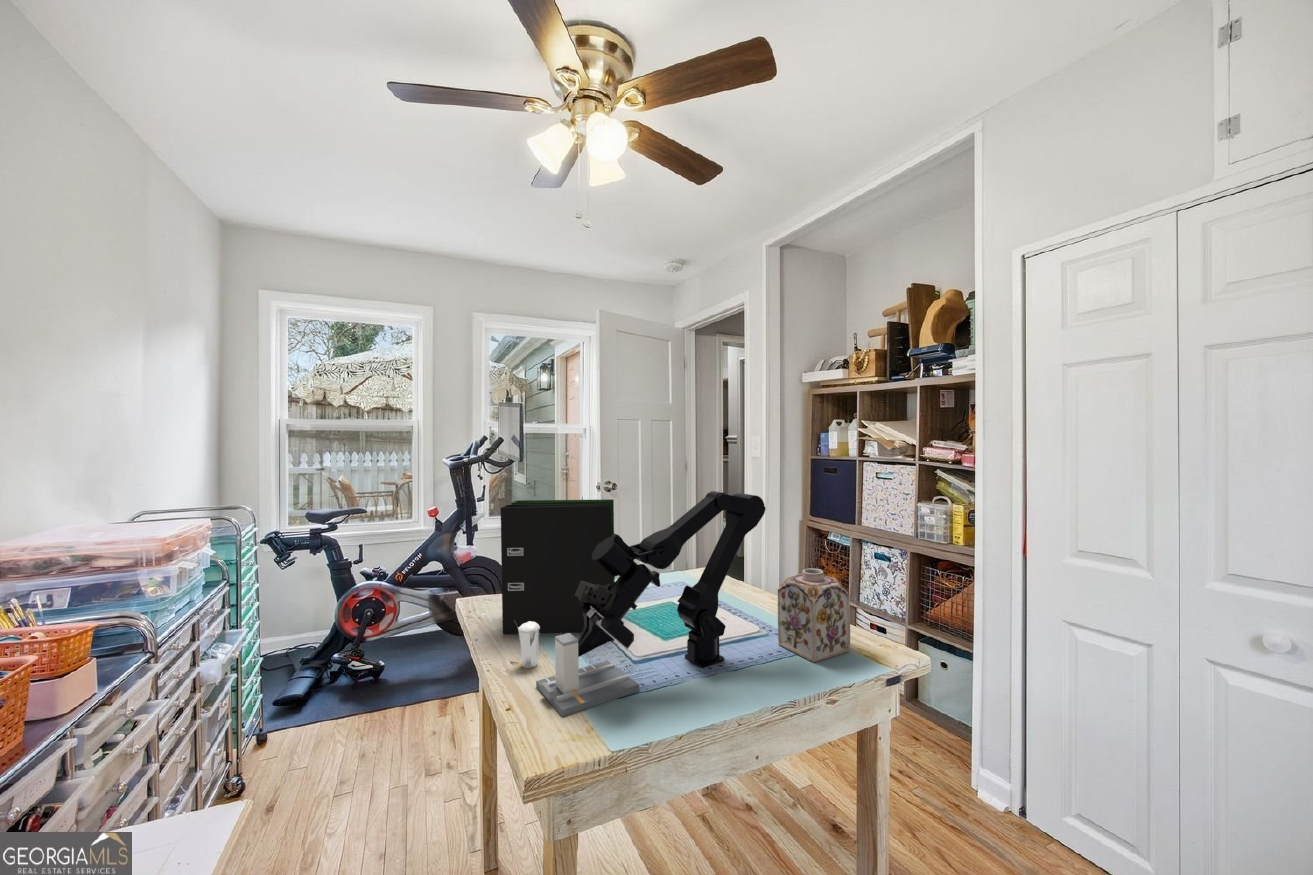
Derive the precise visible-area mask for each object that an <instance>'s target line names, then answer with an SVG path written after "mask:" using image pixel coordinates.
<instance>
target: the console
mask: <svg viewBox="0 0 1313 875" xmlns="http://www.w3.org/2000/svg"><path fill="white" fill-rule="evenodd" d="M535 682H536V683H535V686H536V689H537V691H539V692H540V694H542V695H543V696H544V698H545V699H546V700H547V702H549V703H550V705H552V707H553V708H554V709H555V710H556V711H557V712H558V713H559V715H560V717H566V716H568V715H572V714H574V713H579V712H581V711H584V710H586V709H590V708H592V707H596V706H597V705H601V704H603V703H607V702H609V701H614V700H616V699H618V698H621V697H624V696H628V695H630V694H633V693H636V692H639V691H640V684H639V683H638V682H637V681H635V680H634V679H633V678H631V677H630V675H628V674H627V673H625V672H624V671H622V670H621V669H619V667H617V666H615V664H614V663H612V662H610V661H609V660H605V661H600V662H597V663H594V664H591V665H587V666H584V667H580V668H579V690H573V691H572V692H569V693H566V694H563V693H562V692H561V691H560V690H559V689H558V688H557V687H556V674H554V675H553V676H549V677H545V678H542V679H538V680H536V681H535Z"/></svg>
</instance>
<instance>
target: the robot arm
mask: <svg viewBox="0 0 1313 875" xmlns="http://www.w3.org/2000/svg"><path fill="white" fill-rule="evenodd" d="M722 511H725V512H724V513H725V526H724V528H723V531H722V532H721V534H720V536H719V538H718V541H716V542H717V543H716V545H715V547H714V549H713V551H712V553H711V555H710V557H709V560H708V561H707V564H706V566H705V568H704V569H703V572H702V573H701V575H700V578H699V580H698V582H696V583H695V584H693V586H692V587H691V586H689V585H685V586H684V588H683V591H682V594H681V596H680V597H679V599H678V600H677V603H678V605H677V608H676V609H677V614H678V617H679V619H680V620H681V621H682V622H683V624H684V627H685V628H688V629H689V630H690V631H688V639H686V640H687V642H686V645H687V646H686V647H687V648H686V651H687V653H685V654H684V658H685V659H686V660H689V661H690V662H691V663H694V664H695V665H697V666H699V667H700V668H705V667H708V666H711V665H715V664H717V663H720V662H723V661H725V656H723V655H721V654H720V637H722V636H724V635H725V634H724V633H725V630H726V624H725V623H724V622H722V621H721V619H719V618H718V617H717V614H718V610H719V592H720V590H721V588H722V586H723V583H724V582H725V579H726V577H727V575H728V573H729V570H730V568H731V566H732V564H733V562H734V560H735V558H736V556H737V554H738V552H739V549H740V547H741V545H742V543H743V541H744V539H745V536H746V535H747V534H748V533H749V532H751V531H752V530H753V529H754V528H756V527H757V525H758V524H759V523H760V522H761V520H762V518H763V516H764V515H765V513H766V506H765V501H764V500H763V499H762V497H761V496H758V495H757V494H755V495H753V494H749V493H741V492H737V493H735V494H731V495H730V494H726V493H724V492H720V491H714V490H712V491H710V492H707V494H705V496H704V497H703V498H702V499H701V500H699V501H698V502H697V503H696V504H695V505H694V506H693V507H692V508H690V509H689V510H688V511H687V512H685V513H684V514H683V515H682V516H681V517H679V518H678V519H677V520H675V522H674V523H672V524H671V525H669V526H668V527H666V528H664V529H663V528H662V529H660V530H658V531H655V532H654V533H652V534H650V535H647V537H644V538H643V539H642V540H641V541H640V542H639V543H636V544H632V545H628V544H627V543H626V542H625V541H624V539H623V538H622V537H621V536H620V535H619V534H618V533H615V532H614V533H613V534H612V536H611V537H609V538H607V539H605V540H604V541H602V542H601V543H599V544H598V545H597V546H596V548H595V549H594V551H593V553H592V559H593V560H594V561H595V562H596V563H597V564H599V565H600V566H601V567H602V568H603V569H604V570H605V571H606V572H607V573H608V574H610V575H611V576H612V577H615V578H616V577H618V578H617V579H616V580H615V583H614V584H613V585H612V584H611V583H609V584H607V585H606V586H605V587H604V586H600V585H599V584H596V585H594V584H592V583H589V582H586V581H582V580H581V581H580V583H579V586H578V588H577V591H576V593H575V596H576V597H578V598H579V599H578V600H577V601H576V603H577V604H578V605H579V606H580V607H582V608H583V609H584V610H585V611H587V614H585V613H584V612H583V616H584V627H583V630H582V633H580V636H579V638H578V658H580V657H581V656H583V655H585V654H587V653H589V652H591V651H592V650H595V649H597V648H599V647H601V646H603V645H604V644H605V645H606V644H608V643H610V642H614V641H615V640H616V641H618V642H619V643H620V644H621V645H622V646H624V647H625V648H626V649H627V650H628V649H629V648H630V647H631V645H632V644H633V643H634V642H635V633H634V632H633V631H632V630H630V629H629V628H628V627H627V626H625V622H624V621H623V619H624V618H625V616H626V615H627V614H628V612H629V611H630V610H631V609H632V610H634V611H635V610H636V609H637V607H638V605H637V604H636V602H637V601H638V599H640V597H641V595H642V594H643V593H644V591H645V590H646V589H647V588H648V586H649V585H650V584H652V585H653V586H656V587H658V588H659V587H661V580H660V575H661V574H660V572H658V571H656V570H651V569H649V567H647V566H646V565H649V566H651V567H653V568H655V569H658V570H665V569H667V568H668V567H670V566H671V565H672V563H673V562H674V561H675V560H676V559H677V557H678V556H679V555H680V553H681V550H682V548H683V546H684V545H685V544H686V543H687V541H689V540H690V539H691V538H692V537H693V536H695V535H696V534H697V533H698V532H699V531H700V530H701V529H703V528H704V527H705V526H706V525H707V524H709V522H711V521H712V520H713V519H714V518H716V517H717V516H718V515H719V514H720V513H721V512H722ZM635 560H637V561H639V562H641V563H639V564H638V563H637V562H636V561H635Z"/></svg>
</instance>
